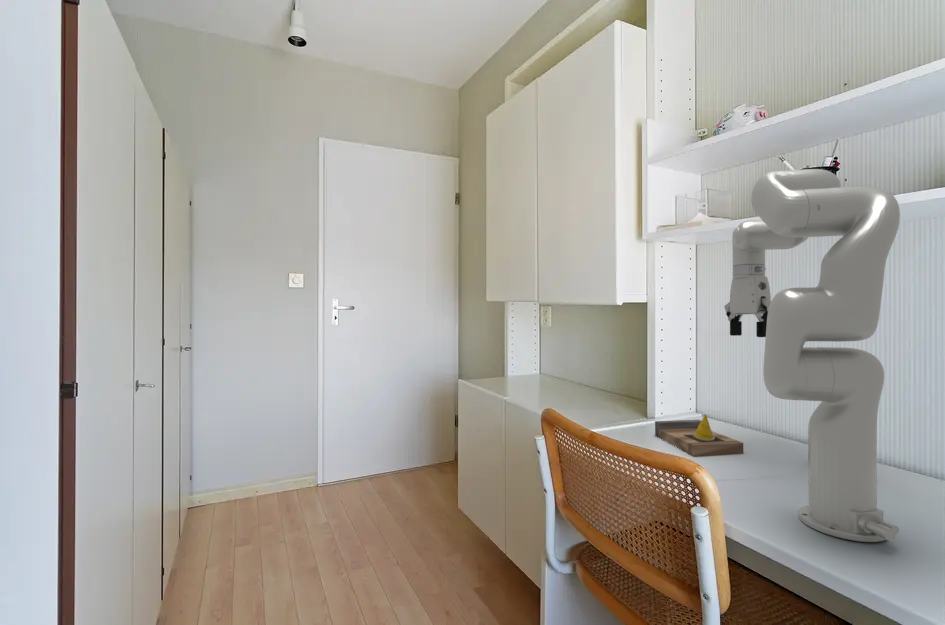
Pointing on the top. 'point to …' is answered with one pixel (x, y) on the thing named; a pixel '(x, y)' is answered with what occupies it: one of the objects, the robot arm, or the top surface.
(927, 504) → the top surface
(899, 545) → the top surface
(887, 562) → the top surface
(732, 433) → the top surface
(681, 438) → the jig
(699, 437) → the drill bit
